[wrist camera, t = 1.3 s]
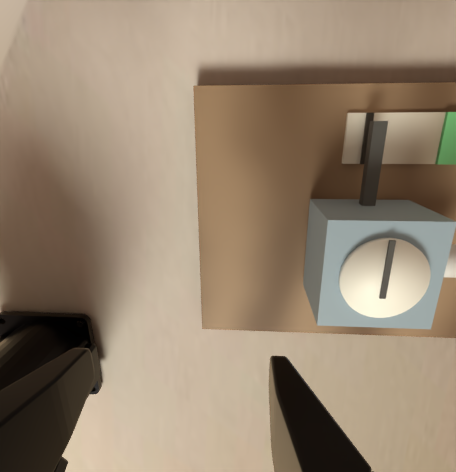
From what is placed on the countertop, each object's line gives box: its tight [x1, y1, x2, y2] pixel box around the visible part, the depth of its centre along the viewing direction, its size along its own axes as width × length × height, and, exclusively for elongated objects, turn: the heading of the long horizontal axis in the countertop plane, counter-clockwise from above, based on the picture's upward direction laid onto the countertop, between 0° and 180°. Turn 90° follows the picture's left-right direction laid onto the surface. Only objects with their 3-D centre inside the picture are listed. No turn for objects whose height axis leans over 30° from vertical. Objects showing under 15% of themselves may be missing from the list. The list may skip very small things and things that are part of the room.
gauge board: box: [194, 82, 456, 338], centre depth 15 cm, size 22×14×6 cm, turn 90°
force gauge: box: [303, 121, 456, 329], centre depth 14 cm, size 7×9×4 cm
